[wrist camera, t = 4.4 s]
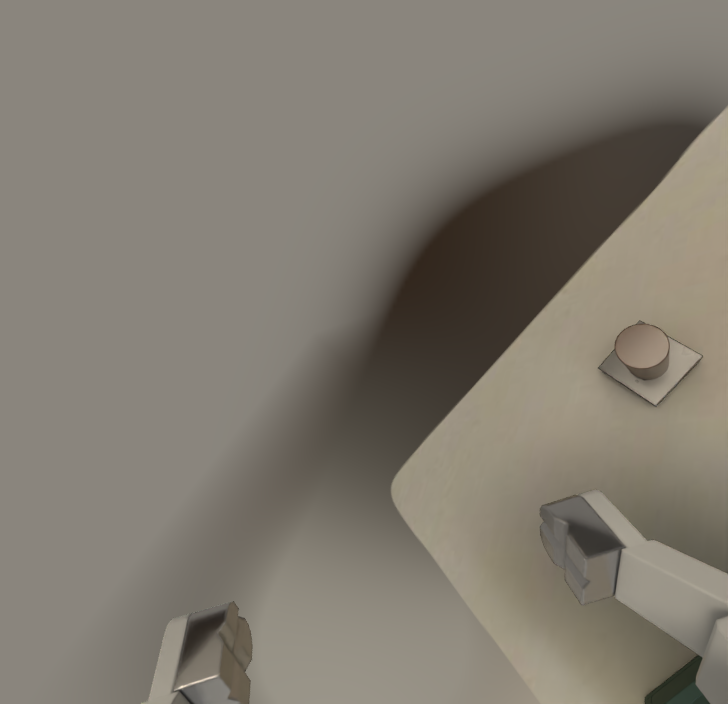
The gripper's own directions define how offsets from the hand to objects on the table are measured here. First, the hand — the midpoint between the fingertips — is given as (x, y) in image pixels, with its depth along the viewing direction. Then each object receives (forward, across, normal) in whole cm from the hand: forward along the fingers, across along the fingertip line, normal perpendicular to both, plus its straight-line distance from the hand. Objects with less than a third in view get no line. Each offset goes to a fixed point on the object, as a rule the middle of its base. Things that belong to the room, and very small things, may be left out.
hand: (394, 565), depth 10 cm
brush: (+20, -26, +13) cm, 35 cm away
